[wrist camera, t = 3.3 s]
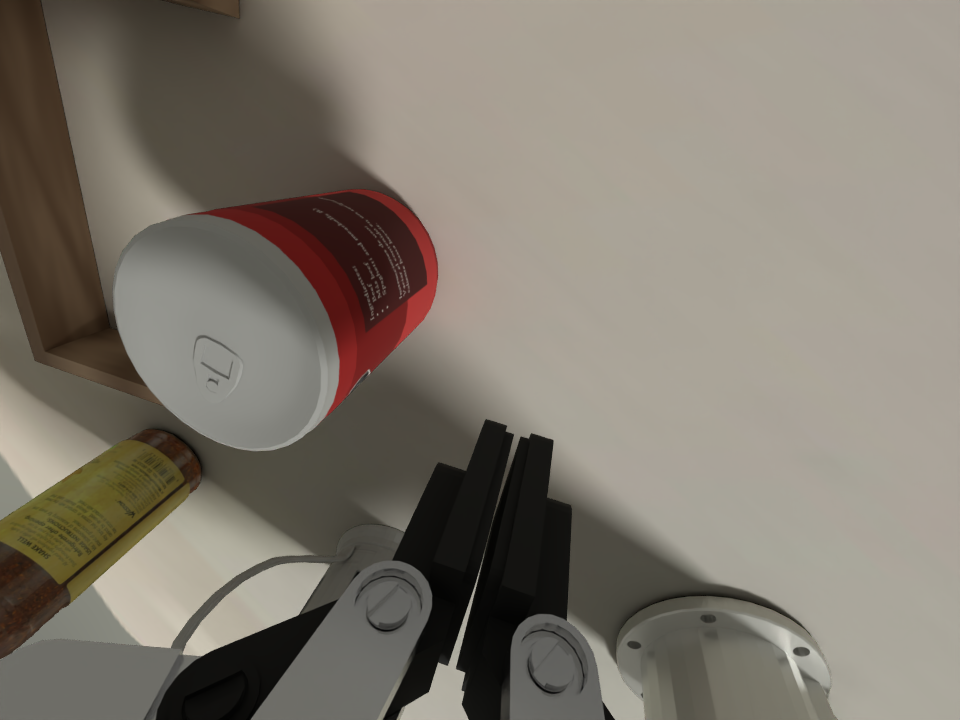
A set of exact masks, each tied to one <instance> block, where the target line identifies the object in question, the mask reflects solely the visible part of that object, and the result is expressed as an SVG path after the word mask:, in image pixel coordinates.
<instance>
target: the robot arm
mask: <svg viewBox="0 0 960 720" xmlns="http://www.w3.org/2000/svg"><path fill="white" fill-rule="evenodd" d="M506 428H507V426H506V425H503V424H500V423H497V422H494V421H490V420H487V419H486V420H485V422H484V425H483V427H482V430H481V433H480V436H479V438H478V441H477V444H476V446H475V449H474V452H473V454H472V457H471V460H470V463H469V465H468V468H467V471H464V470H461V469H458V468H455V467H452V466H449V465H446V464H443V463H440V462H439V463H438V464H437V465H436V467H435V469H434V471H433V474H432V476H431V478H430V480H429V482H428V484H427V486H426V489H425V491H424V493H423V495H422V497H421V499H420V501H419V504H418V506H417V508H416V510H415V512H414V514H413V516H412V518H411V521H410V523H409V525H408V527H407V529H406V531H405V533H404V536H403V538H402V540H401V542H400V544H399V546H398V548H397V551H396V553H395V555H394V557H393V559H392V561H383V562H379V563H374V564H373V565H371V566H369V567H367V568H365V569H364V570H362V571H361V572H360V573H359V574H358V575H357V576H356V577H355V578H354V579H353V581H352V582H351V583H350V585H349V586H348V588H347V589H346V590H345V592H344V593H343V594H342V596H341V597H340V598H339V599H337V600H335V601H332V602H330V603H327V604H325V605H323V606H320V607H318V608H315V609H313V610H310V611H308V612H306V613H303V614H301V615H298V616H296V617H293V618H291V619H288V620H286V621H284V622H281V623H279V624H276V625H274V626H271V627H269V628H267V629H264V630H262V631H259V632H257V633H254V634H252V635H250V636H247V637H245V638H242V639H240V640H237V641H235V642H233V643H230V644H228V645H225V646H223V647H220V648H218V649H215V650H213V651H211V652H209V653H207V654H205V655H204V656H191V655H183V654H182V650H181V649H172V648H161V647H149V646H137V645H125V644H114V643H103V642H90V641H80V640H68V639H54V640H43V641H39V642H36V643H33V644H31V645H28V646H25V647H22V648H20V649H18V650H16V651H15V652H13V653H11V654H10V655H8V656H7V657H5V658H3V659H2V660H0V720H400V718H401V715H402V713H403V711H404V709H405V706H406V705H407V704H409V703H411V702H413V701H414V700H416V699H418V698H419V697H421V696H423V695H424V694H426V693H428V692H429V690H430V687H431V683H432V680H433V677H434V674H435V671H436V667H437V664H438V662H439V663H441V664H444V665H447V666H448V664H449V661H450V658H451V655H452V652H453V649H454V646H455V643H456V640H457V637H458V634H459V631H460V628H461V625H462V622H463V619H464V616H465V613H466V610H467V607H468V604H469V601H470V598H471V595H472V592H473V589H474V586H475V583H476V580H477V576H478V573H479V569H480V566H481V562H482V558H483V554H484V550H485V547H486V543H487V539H488V535H489V531H490V527H491V523H492V519H493V515H494V511H495V507H496V503H497V499H498V496H499V492H500V488H501V484H502V480H503V476H504V472H505V468H506V464H507V460H508V456H509V452H510V448H511V445H512V441H513V437H514V434H512V433H508V432H506ZM552 451H553V440H551V439H548V438H545V437H542V436H538V435H535V434H532V433H531V435H530V437H529V439H528V438H524V437H520V440H519V443H518V446H517V449H516V452H515V455H514V458H513V461H512V464H511V468H510V471H509V474H508V477H507V480H506V483H505V486H504V489H503V492H502V495H501V498H500V501H499V504H498V507H497V510H496V513H495V516H494V520H493V523H492V527H491V531H490V535H489V539H488V543H487V547H486V551H485V555H484V559H483V563H482V567H481V571H480V575H479V579H478V583H477V587H476V591H475V594H474V598H473V602H472V606H471V610H470V614H469V618H468V622H467V626H466V630H465V634H464V638H463V642H462V646H461V650H460V654H459V658H458V662H457V666H456V669H457V670H460V671H463V672H465V677H464V681H463V686H462V691H464V697H463V701H462V706H463V708H464V710H465V712H466V714H467V716H468V719H469V720H615V719H614V718H613V716H612V715H611V713H610V712H609V710H608V709H607V707H606V706H605V704H604V703H603V701H602V696H601V689H600V683H599V676H598V669H597V665H596V661H595V657H594V654H593V651H592V649H591V648H590V646H589V644H588V642H587V640H586V638H585V637H584V636H583V635H582V634H581V633H580V632H579V631H578V630H577V628H576V627H574V626H573V625H572V624H570V623H569V622H567V604H568V583H569V562H570V541H571V520H572V508H571V505H568V504H565V503H562V502H559V501H556V500H553V499H550V498H547V493H548V485H549V476H550V468H551V460H552ZM616 658H617V666H618V670H619V672H620V674H621V677H622V679H623V681H624V682H625V683H626V685H627V686H628V687H629V689H630V690H631V691H632V692H633V693H634V694H635V695H636V696H637V697H638V698H640V699H641V700H642V701H643V702H644V713H645V720H838V719H837V718H836V717H835V716H834V714H833V712H832V709H831V707H830V705H829V702H828V700H827V698H828V695H829V692H830V689H831V673H830V670H829V667H828V665H827V662H826V660H825V658H824V655H823V653H822V651H821V650H820V648H819V646H818V644H817V642H816V641H815V640H814V639H813V638H812V637H811V636H810V635H809V634H808V632H807V631H806V630H805V629H803V628H802V627H800V626H799V625H798V624H796V623H795V622H794V621H792V620H791V619H789V618H787V617H785V616H783V615H781V614H779V613H777V612H775V611H773V610H771V609H768V608H765V607H763V606H760V605H757V604H754V603H751V602H747V601H742V600H737V599H733V598H726V597H715V596H688V597H681V598H675V599H669V600H666V601H662V602H659V603H656V604H653V605H651V606H649V607H647V608H645V609H643V610H641V611H639V612H637V613H636V614H635V615H634V616H632V617H631V618H630V619H629V620H628V621H627V622H626V623H625V625H624V626H623V627H622V629H621V630H620V632H619V635H618V638H617V642H616Z"/></svg>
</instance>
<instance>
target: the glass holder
mask: <svg viewBox="0 0 960 720" xmlns="http://www.w3.org/2000/svg"><path fill="white" fill-rule="evenodd" d="M403 536H404V532H402V531H400V530H398V529H394V528H391V527H388V526H383V525H376V524H366V525H360V526H356V527H353V528H351V529H349V530H348V531H346V532H345V533H344V534H343V535H342V537H341V538H340V540H339V542H338V546H337V550H336V556H314V555H304V556H282V557H274V558H271V559H269V560H266V561H264V562H262V563H259V564H257V565H255V566H253V567H251V568H250V569H248V570H246V571H244V572H243V573H241V574H239V575H237V576H236V577H234V578H233V579H232V580H231V581H229V582H228V583H227V584H225V585H224V586H223V587H222V588H220V589H219V590H218V591H216V592H215V593H214V594H213V595H212V596H211V597H210V598H209V599H208V600H207V601H206V602H205V603H204V604H203V605H202V606H201V607H200V608H199V609H198V611H197V612H196V613H195V614H194V615H193V616H192V617H191V618H190V619H189V620H188V622H187V623H186V625H185V626H184V627H183V629H182V630H181V632H180V633H179V634H178V636H177V637H176V639H175V640H174V641H173V644H172V646H171V648H172V649H181V650H182V653H183V651H184V648H185V645H186V643H187V641H188V640H189V638H190V637H191V636H192V634H193V633H194V631H195V630H196V628H197V627H198V626H199V624H200V623H201V621H202V620H203V619H204V618H205V617H206V616H207V615H208V614H209V613H210V612H211V611H212V609H213V608H214V607H215V606H216V605H217V604H218V603H219V602H220V601H221V600H222V599H223V598H224V597H225V596H226V595H227V594H229V593H230V592H231V591H232V590H234V589H235V588H236V587H237V586H239V585H240V584H241V583H242V582H244V581H245V580H247V579H249V578H251V577H253V576H254V575H256V574H258V573H260V572H262V571H264V570H266V569H269V568H271V567H274V566H276V565H279V564H285V563H295V562H309V563H332V564H331V565H330V567H329V568H328V570H327V571H326V573H325V575H324V576H323V578H322V579H321V581H320V582H319V584H318V585H317V587H316V589H315V590H314V592H313V593H312V595H311V596H310V598H309V600H308V601H307V603H306V604H305V606H304V607H303V609H302V611H301V612H300V614H299V615H301V614H303V613H306V612H308V611H310V610H313V609H315V608H318V607H320V606H323V605H325V604H327V603H330V602H332V601H335V600H337V599H339V598H340V597H341V596H342V594H343V593H344V592H345V590H346V589H347V588H348V586H349V585H350V583H351V582H352V581H353V579H354V578H355V577H356V576H357V575H358V574H359V573H360V572H361V571H362V570H364V569H365V568H367V567H369V566H371V565H373V564H374V563H379V562H383V561H392V559H393V557H394V555H395V553H396V551H397V548H398V546H399V544H400V542H401V540H402V538H403Z"/></svg>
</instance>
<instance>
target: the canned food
mask: <svg viewBox="0 0 960 720" xmlns="http://www.w3.org/2000/svg"><path fill="white" fill-rule="evenodd" d="M437 280H438V262H437V258H436V253H435V249H434V246H433V243H432V241H431V239H430V236H429V234H428V232H427V231H426V229H425V228H424V226H423V225H422V223H421V221H420V220H419V219H418V218H417V217H416V216H415V215H414V214H413V213H412V212H411V211H410V210H409V209H408V208H406V207H405V206H403V205H402V204H401V203H399V202H398V201H396V200H395V199H393V198H391V197H388V196H386V195H384V194H382V193H380V192H375V191H371V190H366V189H350V190H343V191H337V192H330V193H323V194H316V195H309V196H303V197H296V198H289V199H282V200H275V201H268V202H262V203H255V204H248V205H241V206H234V207H228V208H221V209H214V210H211V211H206V212H200V213H194V214H187V215H183V216H180V217H176V218H173V219H169V220H166V221H164V222H160V223H157V224H153V225H150V226H149V227H147V228H146V229H144V230H143V231H141V232H140V233H138V234H137V235H135V236H134V237H133V239H132V240H131V241H130V242H129V243H128V245H127V246H126V247H125V248H124V250H123V251H122V254H121V256H120V259H119V261H118V263H117V266H116V268H115V275H114V281H113V288H112V291H113V310H114V314H115V319H116V323H117V328H118V332H119V334H120V337H121V339H122V342H123V345H124V347H125V350H126V352H127V354H128V356H129V358H130V360H131V362H132V363H133V365H134V367H135V369H136V371H137V373H138V374H139V375H140V377H141V378H142V380H143V381H144V382H145V384H146V385H147V386H148V388H149V389H150V391H151V392H152V393H153V394H154V395H155V396H156V397H157V398H158V400H159V401H160V402H161V403H162V404H163V405H164V406H165V407H166V408H167V409H168V410H169V411H170V412H172V413H173V414H174V415H175V416H176V417H177V418H179V419H180V420H181V421H182V422H183V423H185V424H186V425H188V426H189V427H191V428H192V429H194V430H195V431H197V432H198V433H200V434H202V435H204V436H206V437H208V438H210V439H212V440H214V441H216V442H218V443H221V444H224V445H227V446H230V447H233V448H237V449H243V450H250V451H268V450H275V449H279V448H282V447H286V446H289V445H290V444H292V443H294V442H295V441H297V440H299V439H301V438H302V437H303V436H304V435H305V434H306V433H308V432H310V431H311V430H313V429H314V428H315V427H316V426H317V425H318V424H319V423H320V422H321V421H322V420H323V419H324V418H325V417H326V416H328V415H329V414H330V413H331V412H332V411H333V410H334V409H335V408H336V407H337V406H338V405H339V404H340V403H341V402H342V401H343V400H344V399H345V398H346V397H347V396H348V395H349V394H350V393H351V392H352V391H353V390H354V389H355V388H356V387H357V386H358V385H359V384H360V383H361V382H362V381H363V380H364V379H365V378H366V377H367V376H368V375H369V374H370V373H371V372H372V371H373V370H374V369H375V368H376V367H377V366H378V365H379V364H380V363H381V362H382V361H383V360H384V359H385V358H386V357H387V356H388V355H389V354H390V353H391V352H392V351H393V350H394V349H395V348H396V347H397V346H398V345H399V344H400V343H401V342H402V341H403V340H404V339H405V338H406V337H407V336H408V335H409V334H410V333H411V332H412V331H413V330H414V329H415V328H416V327H417V326H418V325H419V324H420V323H421V322H422V321H423V320H424V318H425V316H426V315H427V313H428V312H429V310H430V308H431V305H432V303H433V300H434V297H435V293H436V286H437Z"/></svg>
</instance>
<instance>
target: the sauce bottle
mask: <svg viewBox="0 0 960 720" xmlns="http://www.w3.org/2000/svg"><path fill="white" fill-rule="evenodd" d="M200 481H201V467H200V463H199V461H198V459H197V457H196V455H194V453H193V451H192V450H191V449H190V448H189V446H187V445H186V444H185V443H184V442H183V441H181V440H180V439H178V438H177V437H176V436H174V435H172V434H170V433H167V432H165V431H161V430H156V429H146V430H144V431H142V432H140V433H138V434H136V435H134V436H132V437H131V438H129V439H127V440H124V441H121V442H119V443H118V444H116V445H115V446H113V447H112V448H110V449H109V450H107V451H105V452H104V453H102V454H101V455H99V456H98V457H96V458H95V459H93V460H92V461H90V462H88V463H87V464H85V465H84V466H82V467H81V468H79V469H78V470H76V471H75V472H73V473H72V474H70V475H69V476H67V477H66V478H64V479H63V480H61V481H60V482H58V483H56V484H55V485H54V486H52V487H50V488H49V489H47V490H46V491H44V492H43V493H41V494H40V495H38V496H36V497H35V498H34V499H32V500H31V501H29V502H28V503H26V504H25V505H23V506H22V507H20V508H19V509H17V510H16V511H14V512H12V513H11V514H9V515H8V516H7V517H5V518H4V519H2V520H0V659H1V658H3V657H5V656H7V655H9V654H11V653H12V652H13V651H14V650H15V649H17V648H18V647H20V646H21V645H22V644H23V643H24V642H25V641H26V640H28V639H29V638H30V637H32V636H33V635H34V633H35V632H37V631H38V630H39V629H40V627H42V626H43V625H44V624H45V623H46V622H47V621H49V620H50V619H51V618H52V617H53V616H54V615H55V614H56V613H58V612H59V610H61V609H62V608H64V607H66V606H68V605H69V604H70V603H71V602H73V601H74V600H75V599H76V598H77V597H78V596H79V595H80V594H82V593H83V592H84V591H85V590H86V589H87V588H88V587H89V586H90V585H91V584H92V583H94V582H95V581H96V580H97V579H98V578H99V577H100V576H101V575H102V574H104V573H105V572H106V571H107V570H108V569H109V568H110V567H111V566H112V565H114V564H115V563H116V562H117V561H118V560H119V559H120V558H121V557H122V556H124V555H125V554H126V553H127V552H128V551H129V550H130V549H131V548H132V547H134V546H135V545H136V544H137V543H138V542H139V541H140V540H141V539H142V538H144V537H145V536H146V535H147V534H148V533H149V532H150V531H152V530H153V529H154V528H155V527H156V526H157V525H158V524H159V523H160V522H161V521H163V520H164V519H165V518H166V517H167V516H168V515H169V514H170V513H171V512H172V511H174V510H175V509H176V508H177V507H178V506H179V505H180V504H181V503H182V502H184V501H185V500H186V498H187V497H188V496H189V494H190V493H191V492H193V491H194V490H196V489H197V487H198V485H199V484H200Z"/></svg>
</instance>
